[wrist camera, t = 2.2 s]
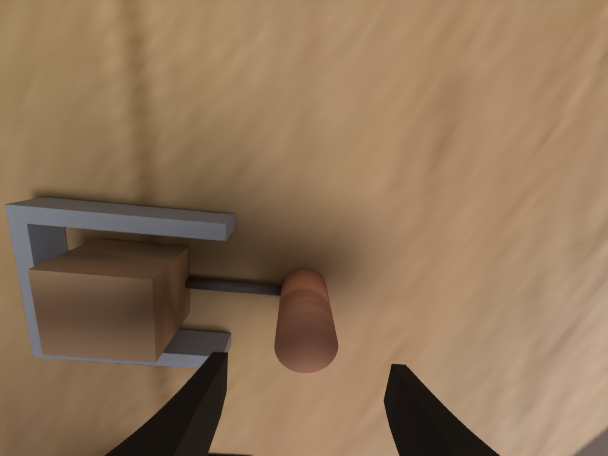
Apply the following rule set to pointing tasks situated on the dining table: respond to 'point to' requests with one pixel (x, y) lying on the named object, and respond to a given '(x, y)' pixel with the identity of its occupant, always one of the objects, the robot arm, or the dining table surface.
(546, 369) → the dining table surface
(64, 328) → the tethered block
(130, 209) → the grey u-shaped bracket
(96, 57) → the dining table surface
